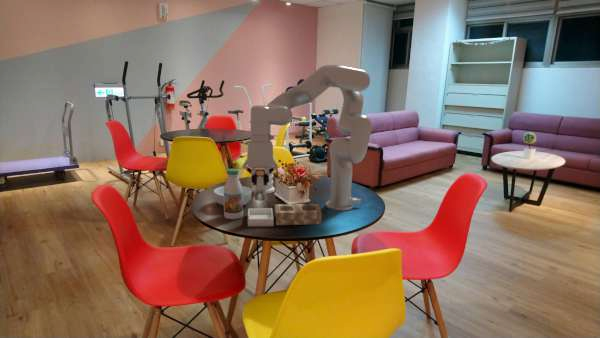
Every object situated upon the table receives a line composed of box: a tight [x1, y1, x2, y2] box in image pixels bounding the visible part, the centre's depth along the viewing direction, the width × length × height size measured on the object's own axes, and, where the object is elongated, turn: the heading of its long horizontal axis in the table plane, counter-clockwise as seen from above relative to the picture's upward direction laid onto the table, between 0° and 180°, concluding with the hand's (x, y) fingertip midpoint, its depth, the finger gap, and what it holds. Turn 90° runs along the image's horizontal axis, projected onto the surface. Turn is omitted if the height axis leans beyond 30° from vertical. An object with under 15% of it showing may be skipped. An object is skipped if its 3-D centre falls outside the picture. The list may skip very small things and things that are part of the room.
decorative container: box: [251, 154, 276, 195], centre depth 187 cm, size 12×12×18 cm
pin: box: [254, 169, 266, 202], centre depth 146 cm, size 4×4×12 cm
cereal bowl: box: [213, 185, 253, 207], centre depth 166 cm, size 17×17×7 cm
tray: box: [247, 207, 275, 228], centre depth 150 cm, size 10×12×3 cm
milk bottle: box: [223, 168, 244, 220], centre depth 151 cm, size 8×8×20 cm
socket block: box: [274, 203, 323, 226], centre depth 151 cm, size 18×10×6 cm, turn 97°
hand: (260, 183), depth 146 cm, fingers closed on pin, 4 cm apart
